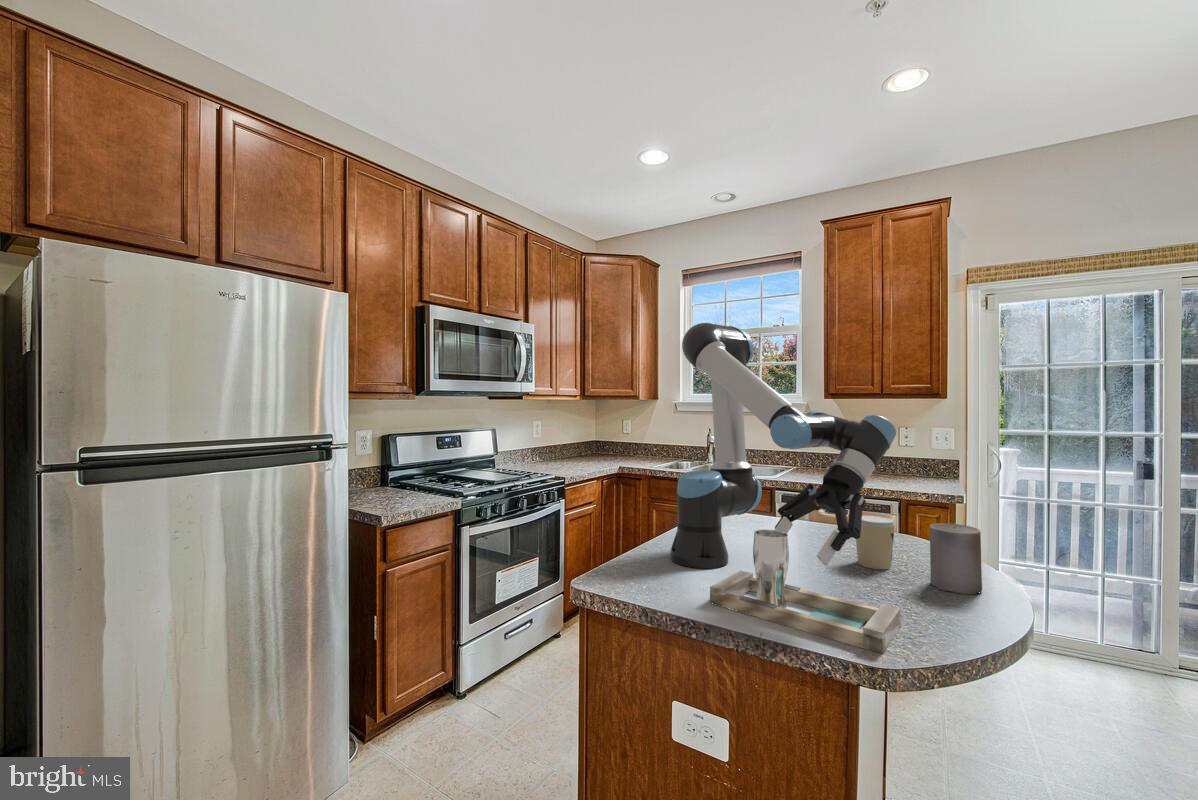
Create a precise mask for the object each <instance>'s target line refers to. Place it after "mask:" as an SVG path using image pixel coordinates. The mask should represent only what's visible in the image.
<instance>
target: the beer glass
mask: <svg viewBox="0 0 1198 800" xmlns="http://www.w3.org/2000/svg"><path fill="white" fill-rule="evenodd" d="M753 533H754V535H753V546H752V547H753V549H752V551H753V552H752V557H753V560H752V561H753V567H754V571H755V578H756V579H757V593H756V595H755V599H757V600H761V601H765V602H768V603H772V604H776V605H777V607H781V608H785V609H787V602H786V600H785V595H784V588H785V584H786V581H787V580H786V579H787V575H788V569H789V563H790V562H789V561H790V560H789V559H790V552H789V551H790V549H789V535H788V533H785V532H782V531H777V530H775V529H757V530H755V531H754V532H753Z"/></svg>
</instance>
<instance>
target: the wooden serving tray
mask: <svg viewBox="0 0 1198 800" xmlns="http://www.w3.org/2000/svg"><path fill="white" fill-rule="evenodd" d="M748 591H749V592H752V591H754V592H753V593H756V592H757V579H756V577H754V572H749V571H748V572H747V571H745V570H738V571H737V572H735V573H733V574H731V575H729V576H728V577H725V578H723V579H722V580H720V581H718V582H716V583H714V584H713V585H711V586H710V587H709V604H710V603H713V604H716V605H715V606H717V605H719V606H718V607H720V606H723V607H722V608H724V607H726V608H725V609H727V608H730V609H733V610H732V611H734V610H737V611H740V612H739V613H741V612H743V613H742V614H744V613H747V614H751V615H753V616H752V617H754V616H757V617H756V618H758V617H760V618H759V619H761V618H763V619H762V620H765V619H767V620H766V621H768V620H770V621H769V622H771V621H773V622H772V623H775V622H776V623H775V624H778V623H779V624H780V625H783V626H786V627H789V628H792V629H796V630H800V631H802V632H806V633H809V634H814V635H817V636H819V637H823V638H827V639H830V640H834V641H837V642H840V643H844V644H847V645H850V646H854V647H858V648H861V649H865V650H868V651H871V652H874V653H878V654H881V653H882V654H881V655H884V654H885V652H886V651H887V649H888V647H889V646H888V645H890V644H891V642H892V641H893V640H894V638H895V636H896V635H895V634H897V633H898V632H897V631H899V630H900V628H901V625H902V623H901V620H902V618H901V617H902V616H901V615H902V613H901V610H902V609H901V607H898V606H894V605H890V604H886V603H882V604H881V605H880V606H879V607H876V606H873V605H868V604H864V603H860V602H856V601H851V600H847V599H842V598H839V597H835V596H830V595H826V594H823V593H822V594H821V593H817V592H813V591H810V590H805V589H801V587H800V586H795V585H791V584H786V583H785V588H784V595H785V601H788V602H791V601H792V602H791V603H795V604H800V605H802V604H803V605H802V606H806V607H810V608H815V609H814V610H813V611H812V612H811V613H809V614H806V613H803V612H799V611H795V610H791V609H787V608H786V609H785V608H781V607H777V605H776V604H772V603H768V602H765V601H761V600H757V599H756V598H753V597H750V596H745V593H746V592H747V593H749V592H748ZM747 593H746V594H747ZM743 594H744V595H743ZM740 596H741V597H740ZM713 604H712V605H713ZM730 609H729V610H730ZM737 611H736V612H737ZM747 614H746V615H747ZM751 615H750V616H751ZM865 623H866V624H865ZM864 624H865V625H864ZM863 625H864V626H863ZM862 626H863V628H862ZM893 637H894V638H893ZM891 640H892V641H891ZM889 643H890V644H889ZM887 646H888V647H887ZM886 648H887V649H886ZM884 651H885V652H884Z"/></svg>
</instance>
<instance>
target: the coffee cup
mask: <svg viewBox="0 0 1198 800" xmlns="http://www.w3.org/2000/svg"><path fill="white" fill-rule="evenodd" d="M895 527H896V523H894V520H893V519H891V518H888V517H884V516H877V515H862V521H861V534H860V538H859V539H855V543H856V555H857V563H858V565H859V566H862V567H864V568H869V569H872V570H873V569H874V570H889V569H891V568H892V564H893V563H892V562H893V552H894V550H893V549H894V537H895Z"/></svg>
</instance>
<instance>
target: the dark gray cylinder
mask: <svg viewBox="0 0 1198 800" xmlns="http://www.w3.org/2000/svg"><path fill="white" fill-rule="evenodd" d="M981 533H982V532H981V530H980V529H979V528H976V527H974V526H969V525H964V524H959V523H958V524H957V522H956V521H955V522H954V523H948V522H947V523H946V522H940V523H938V522H936V523H931V524H930V525H929V549H930V550H929V552H930V553H929V554H930V555H929V557H930V558H929V559H930V561H929V563H930V564H929V565H930V585H932V586H933V587H934V586H935V587H934V588H936V587H937V588H936V589H939V590H941V589H942V590H941V591H945V592H951V593H956V594H959V593H960V595H968V594H971V595H977V594H976V593H978V594H980V593H979V592H981V593H982V591H983V577H982V539H981V538H982V537H981Z"/></svg>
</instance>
